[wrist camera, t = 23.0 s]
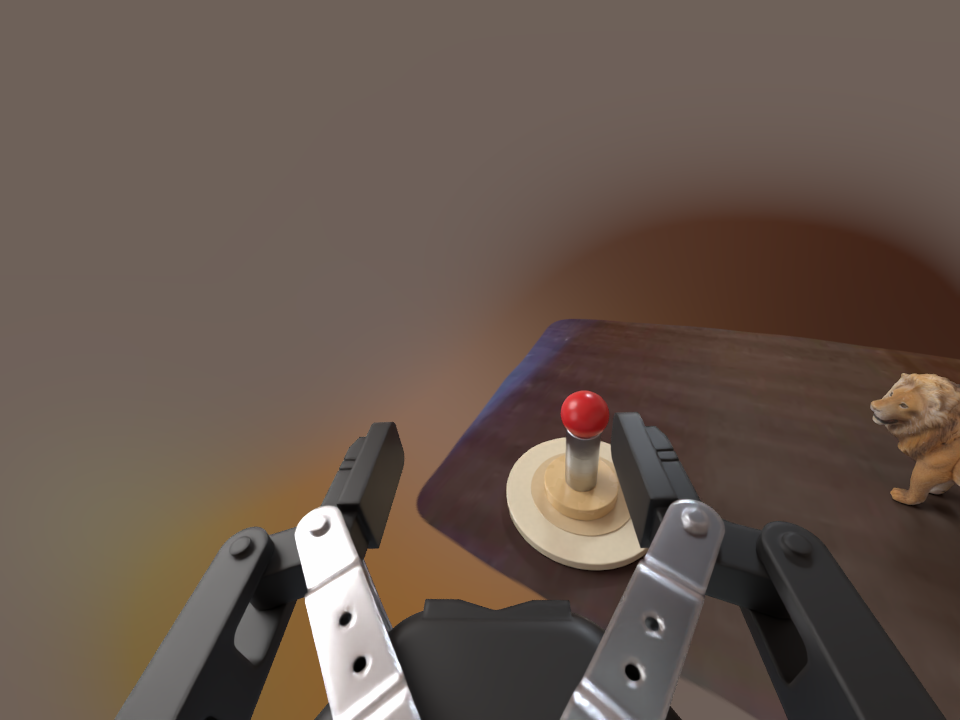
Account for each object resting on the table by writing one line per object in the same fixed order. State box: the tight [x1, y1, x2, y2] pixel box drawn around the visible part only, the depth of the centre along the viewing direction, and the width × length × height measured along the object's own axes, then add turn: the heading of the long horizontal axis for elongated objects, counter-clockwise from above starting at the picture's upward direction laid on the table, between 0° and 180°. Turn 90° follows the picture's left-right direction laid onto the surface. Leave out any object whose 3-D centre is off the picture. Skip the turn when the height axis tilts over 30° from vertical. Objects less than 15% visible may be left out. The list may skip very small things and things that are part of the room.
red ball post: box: [544, 391, 619, 521], centre depth 27 cm, size 6×6×9 cm
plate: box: [507, 438, 649, 570], centre depth 30 cm, size 12×12×1 cm
